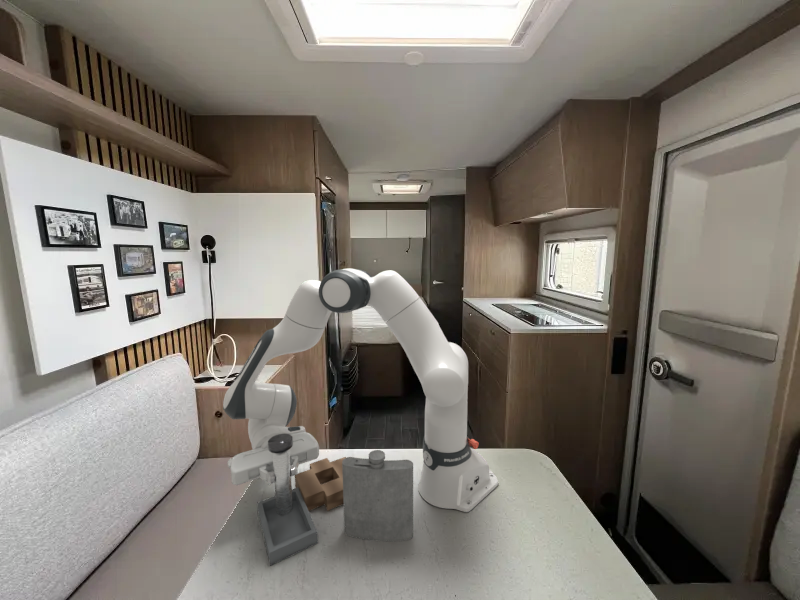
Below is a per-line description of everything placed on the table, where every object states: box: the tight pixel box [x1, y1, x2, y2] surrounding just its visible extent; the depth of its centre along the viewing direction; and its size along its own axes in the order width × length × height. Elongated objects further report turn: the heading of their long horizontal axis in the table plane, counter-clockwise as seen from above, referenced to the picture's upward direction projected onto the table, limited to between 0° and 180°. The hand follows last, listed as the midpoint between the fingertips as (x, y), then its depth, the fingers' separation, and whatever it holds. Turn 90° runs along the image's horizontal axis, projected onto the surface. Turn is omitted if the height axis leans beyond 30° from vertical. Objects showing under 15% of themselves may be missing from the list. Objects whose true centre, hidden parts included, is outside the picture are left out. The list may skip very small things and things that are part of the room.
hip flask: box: [342, 449, 414, 542], centre depth 73 cm, size 16×4×20 cm, turn 85°
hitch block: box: [294, 456, 347, 512], centre depth 88 cm, size 15×15×4 cm
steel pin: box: [268, 434, 293, 516], centre depth 74 cm, size 5×5×18 cm
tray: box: [256, 487, 319, 567], centre depth 76 cm, size 10×16×3 cm, turn 32°
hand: (283, 476), depth 73 cm, fingers closed on steel pin, 4 cm apart
